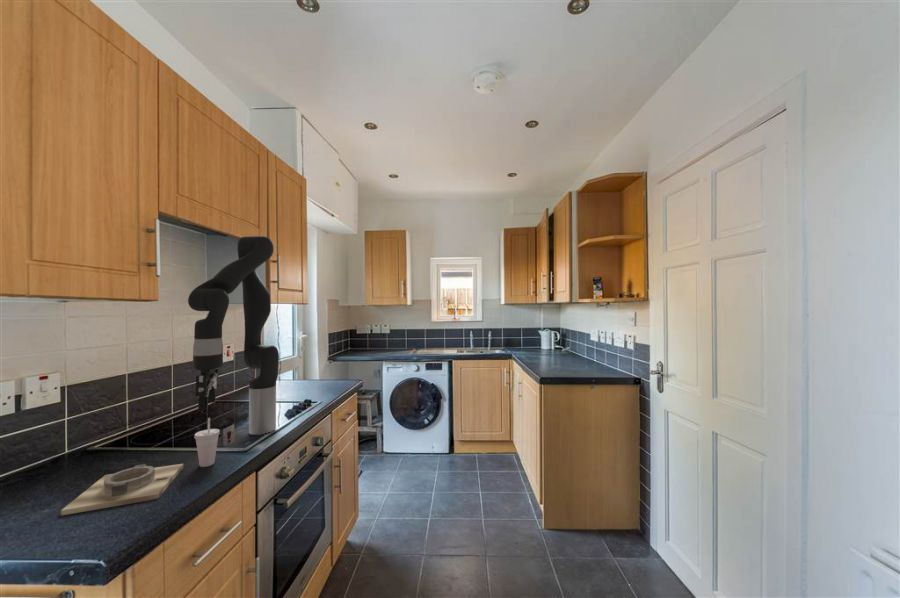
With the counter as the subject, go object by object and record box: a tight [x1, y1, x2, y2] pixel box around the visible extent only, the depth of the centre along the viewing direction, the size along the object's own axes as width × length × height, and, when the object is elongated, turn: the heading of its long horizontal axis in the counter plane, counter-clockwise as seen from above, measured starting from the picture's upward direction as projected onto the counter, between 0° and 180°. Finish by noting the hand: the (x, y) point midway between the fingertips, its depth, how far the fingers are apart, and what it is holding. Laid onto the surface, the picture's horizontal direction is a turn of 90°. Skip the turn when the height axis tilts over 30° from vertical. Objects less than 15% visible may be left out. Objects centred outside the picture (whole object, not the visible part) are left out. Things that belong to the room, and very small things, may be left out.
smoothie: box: [194, 417, 221, 468], centre depth 105 cm, size 6×6×14 cm
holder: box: [60, 463, 184, 516], centre depth 91 cm, size 18×18×4 cm
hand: (207, 405), depth 105 cm, fingers open, 8 cm apart
